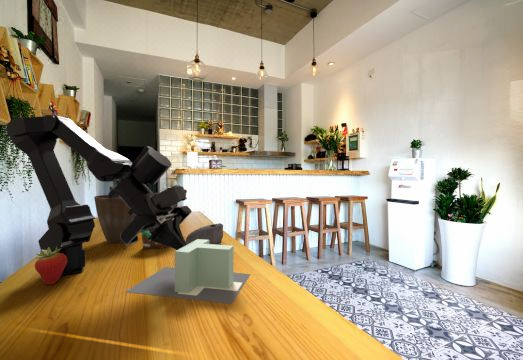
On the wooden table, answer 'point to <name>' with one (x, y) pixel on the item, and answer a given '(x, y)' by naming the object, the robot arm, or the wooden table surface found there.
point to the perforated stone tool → (207, 234)
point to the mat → (165, 286)
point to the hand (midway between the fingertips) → (185, 250)
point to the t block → (203, 266)
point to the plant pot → (112, 217)
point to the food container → (150, 242)
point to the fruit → (50, 265)
